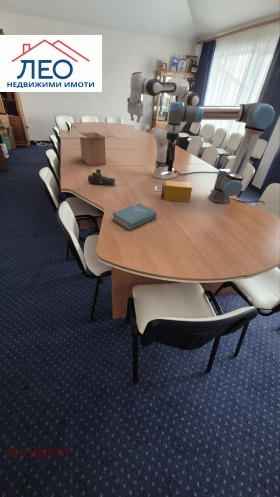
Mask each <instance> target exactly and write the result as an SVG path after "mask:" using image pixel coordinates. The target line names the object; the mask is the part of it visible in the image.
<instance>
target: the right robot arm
mask: <svg viewBox="0 0 280 497" xmlns="http://www.w3.org/2000/svg"><path fill="white" fill-rule="evenodd" d="M275 116H276V112H275V109H274V107H273V106H272V105H270V104H268V103H263V102H250V103H239V105H197V106H191V105H187V106H185V107H183V103H181V102H176V101H171V102H170V104H169V110H168V119H167V125H166V128H167V129H166V130H167V131H168V132H167V136H166V139H167V140H168V146H167V151H166V154H167V155H166V163H165V165H168V171H171V172H172V168H173V167H174V161H175V159H176V158H175V157H176V156H175V155H176V143H174V141H175V140H177V141H178V140H179V137H180V132H181V130H180V124H181V122H187V123H192V124H193V123H194V124H197V123H199V124H200V123H202V121H235V122H236V123H243V124H245V125H244V128H243V129H244V131H245V132H244V135H243V138H242V140H241V142H240V144H239V147H238V150H237V152H236V154H235V157H234V159H233V162H232V165H231V167H230V169H229V168H227V169H226V168H219V170H218V171H217V172H218V173H217V174H216V179H215V183H214V186H213V189H211V190H210V193H209V196H208V199H209V200H210V201H211V202H213V203H216V204H221V205H222V204H228V203H229V202H230V200H232V201H236V202H240V203H248V204H249V203H262V204H263V205H266V202H264V201H262V200H251V201H246V200H245V201H244V200H240V199H236V198H231V197H235V196H237V195H238V194H240V193H241V192H242V189H243V180H244V178H245V176H244V173H245V170H246V168H247V166H248V163H249V162H250V158H251V156H252V155H253V152H254V150H255V147H256V146H257V143H258V140H259V138H260V136H261V135H263V134H264V133H265V131H266V129H267V128H268V127H269V126H271V125H272V123H273V121H274V119H275ZM173 169H174V168H173Z"/></svg>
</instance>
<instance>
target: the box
mask: <svg viewBox="0 0 280 497" xmlns="http://www.w3.org/2000/svg"><path fill="white" fill-rule="evenodd" d="M70 133H71V134H72V135H74V136H75V137H77V138H79V144H80V153H81V160H83V162H85V163H86V165H87V166H95V165H97V166H98V165H106V163H107V162H106V158H107V157H106V138H113V137H114V136H113V135H111V134H109V133H108V132H105V131H98V132H96V131H95V130H92V129H91V130H77V132H76V131H70Z"/></svg>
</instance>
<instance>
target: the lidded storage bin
mask: <svg viewBox="0 0 280 497" xmlns="http://www.w3.org/2000/svg"><path fill="white" fill-rule="evenodd" d="M192 192H193V186H192V183H191V182H186V181H176V180H175V181H174V180H165V181H164V194H163V200H164V201H165V200H166V201H177V202H186V203H188V202H189V203H190V200H191V197H192V196H191V195H192Z"/></svg>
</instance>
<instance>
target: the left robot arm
mask: <svg viewBox="0 0 280 497" xmlns="http://www.w3.org/2000/svg"><path fill="white" fill-rule="evenodd" d="M129 86H130V87H129V88H130V92H129V97H128V98H127V99H126V101H127V106H126V107H127V113H128V114H129V116H130V121H132V122H133V121H134V120H135V118H134V116H136V123H141V122H140V120H141V117H144V114H145V106H144V103H143V95H144V96H150V97H157V96H158V95H160V94H167V96H171V97H175V102H181V103H183V107H185V106H187V105H191V106H198V104H199V102H200V96H199V94H198V93H196V92H194V91H189V89H190V84H189V81H188V80H186V79H184V78H180V77H178V78H177V77H174V78H169V79H168V80H167V81H160V79H157V78H148V77H147V76H145V75H144V73H143V72H142V71H135V72H133V73H132V74H131V76H130V85H129ZM187 123H188V122H181V124H180V131H181V130H182V129H183V128H184V127H185V125H186V124H187ZM167 132H168V131H167V129H163V128H161V129H156V130H155V132H154V133H153V138H154V140H155V145H156V159H155V165H154V171H153V175H152V176H153V177H154V178H156V179H162V180H169V179H173V178H177V175H176V174H178V175H179V176H186V175H190V174H197V173H198V174H199V173H201V174H202V173H203V174H204V173H207V174H218V172H219V171H192V172H187V173H182V174H181V173H180V172H179V171H178V170H176V169H174V168H172V172H171V171H168V165H165V163H166V155H167V154H166V151H167V146H168V140H167V139H166V136H167ZM177 141H178V140H175V141H174V143H175V144H176V143H177Z"/></svg>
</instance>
